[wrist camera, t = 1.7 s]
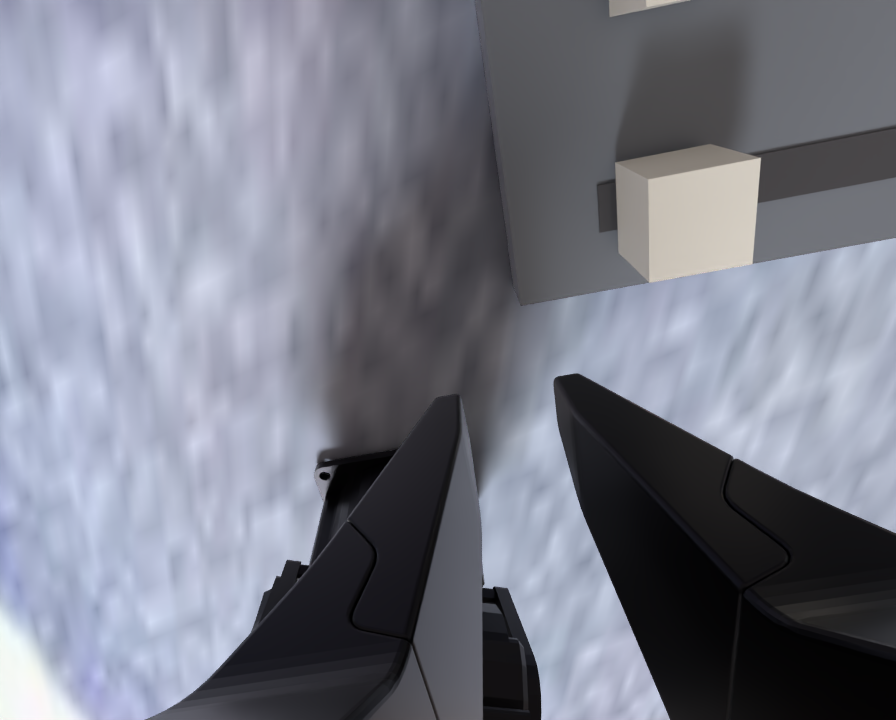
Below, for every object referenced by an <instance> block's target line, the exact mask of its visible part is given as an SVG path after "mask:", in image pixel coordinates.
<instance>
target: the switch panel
mask: <svg viewBox="0 0 896 720" xmlns="http://www.w3.org/2000/svg"><path fill="white" fill-rule="evenodd" d="M475 6H476V13H477V21H478V28H479V36H480V43H481V50H482V58H483V65H484V73H485V80H486V88H487V95H488V102H489V110H490V117H491V125H492V132H493V139H494V147H495V154H496V162H497V169H498V177H499V184H500V191H501V199H502V206H503V214H504V221H505V229H506V236H507V243H508V251H509V258H510V266H511V273H512V280H513V287H514V290H515V292H516V295H517V297H518V300H519V302H520V305H521V306H523V305H528V304H534V303H539V302H545V301H550V300H556V299H561V298H567V297H572V296H578V295H583V294H589V293H594V292H600V291H605V290H611V289H616V288H622V287H627V286H633V285H638V284H644V283H649V282H648V281H647V280H646V279H645V278H644V277H643V276H642V275H641V274H640V273H639V272H638V271H637V270H636V269H635V268H634V267H633V266H632V265H631V264H630V263H629V262H628V261H627V260H626V259H625V258H624V257H622V256H621V255H620V254H619V251H618V225H617V199H616V173H615V162H620V161H625V160H630V159H635V158H641V157H646V156H651V155H656V154H661V153H666V152H671V151H677V150H682V149H687V148H692V147H697V146H702V145H707V144H712V145H716V146H720V147H723V148H727V149H731V150H734V151H738V152H741V153H745V154H749V155H752V156H756V157H760V158H761V164H760V176H759V189H758V201H757V213H756V226H755V238H754V251H753V263H752V264H754V263H760V262H765V261H771V260H776V259H782V258H787V257H793V256H798V255H804V254H809V253H815V252H820V251H826V250H831V249H837V248H842V247H848V246H853V245H859V244H864V243H870V242H875V241H881V240H886V239H892V238H896V0H690V1H685V2H680V3H675V4H670V5H666V6H661V7H656V8H651V9H646V10H642V11H637V12H632V13H627V14H623V15H618V16H613V17H610V15H609V0H475Z"/></svg>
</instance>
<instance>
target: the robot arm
mask: <svg viewBox="0 0 896 720" xmlns="http://www.w3.org/2000/svg"><path fill="white" fill-rule="evenodd" d="M554 395H555V404H556V413H557V422H558V427H559V432H560V436H561V439H562V443H563V446H564V450H565V454H566V457H567V461H568V465H569V468H570V472H571V476H572V479H573V483H574V486H575V490H576V494H577V497H578V500H579V503H580V507H581V509H582V512H583V515H584V517H585V520H586V522H587V525H588V527H589V529H590V532H591V534H592V536H593V539H594V541H595V543H596V546H597V548H598V551H599V553H600V555H601V558H602V560H603V562H604V565H605V567H606V569H607V572H608V574H609V576H610V579H611V581H612V584H613V586H614V588H615V591H616V593H617V595H618V598H619V600H620V602H621V605H622V607H623V609H624V612H625V614H626V616H627V619H628V621H629V624H630V626H631V628H632V631H633V633H634V635H635V638H636V640H637V642H638V645H639V647H640V649H641V652H642V654H643V656H644V659H645V661H646V664H647V666H648V668H649V671H650V673H651V675H652V678H653V680H654V682H655V685H656V687H657V689H658V692H659V694H660V697H661V699H662V701H663V704H664V706H665V708H666V711H667V713H668V715H669V718H670V720H896V533H894V532H891V531H889V530H887V529H884V528H882V527H880V526H878V525H875V524H873V523H871V522H868V521H866V520H864V519H862V518H859V517H857V516H855V515H852V514H850V513H848V512H846V511H843V510H841V509H839V508H836V507H834V506H832V505H830V504H828V503H826V502H823V501H821V500H819V499H817V498H815V497H812V496H810V495H808V494H806V493H804V492H802V491H799V490H797V489H795V488H793V487H791V486H789V485H787V484H785V483H783V482H781V481H779V480H777V479H775V478H773V477H771V476H769V475H768V474H766V473H764V472H762V471H760V470H758V469H756V468H754V467H752V466H750V465H748V464H747V463H745V462H743V461H741V460H739V459H733V456H731V455H729V454H728V453H726V452H724V451H722V450H720V449H718V448H716V447H715V446H713V445H711V444H709V443H707V442H705V441H703V440H702V439H700V438H698V437H696V436H694V435H692V434H690V433H689V432H687V431H685V430H683V429H681V428H679V427H677V426H675V425H674V424H672V423H670V422H668V421H666V420H664V419H662V418H661V417H659V416H657V415H655V414H653V413H651V412H649V411H648V410H646V409H644V408H642V407H640V406H638V405H636V404H635V403H633V402H631V401H629V400H627V399H625V398H623V397H622V396H620V395H618V394H616V393H614V392H612V391H610V390H609V389H607V388H605V387H603V386H601V385H599V384H597V383H595V382H594V381H592V380H590V379H588V378H586V377H584V376H582V375H580V374H570V375H564V376H558V377H556V378H555V379H554ZM322 472H328V473H329V475H325V474H323V473H322ZM314 478H315V481H316V483H317V486H318V489H319V491H320V494H321V497H322V499H323V502H324V505H323V509H322V513H321V517H320V521H319V526H318V530H317V534H316V538H315V543H314V547H313V551H312V555H311V559H310V564H309V565H301V562H300V561H292V560H287V561H286V564H285V567H284V569H283V572H282V575H281V577H279V576H276V579H275V581H274V584H273V587H272V589H270V590H268V591H266V592H264V595H263V598H262V601H261V604H260V608H259V611H258V614H257V617H256V620H255V623H254V626H253V629H252V631H251V633H250V634H249V636H248V637H247V638H246V639H245V640H244V641H243V642H242V643H241V644H240V645H239V647H238V648H237V649H236V650H235V651H234V652H233V653H232V654H231V655H230V656H229V658H228V659H227V660H226V661H225V662H224V663H223V664H222V665H221V666H220V667H219V668H218V669H217V670H216V671H215V673H214V674H213V675H212V676H211V677H210V678H209V679H208V680H207V681H206V682H204V683H203V684H202V685H201V686H200V687H199V688H197V689H196V690H195V691H194V692H193V693H192V694H190V695H189V696H187V697H186V698H185V699H183V700H182V701H180V702H179V703H177V704H175V705H174V706H172V707H170V708H169V709H167V710H165V711H163V712H161V713H159V714H157V715H155V716H153V717H150V718H148V719H146V720H541V691H540V680H539V674H538V669H537V664H536V661H535V658H534V655H533V652H532V649H531V647H530V644H529V642H528V639H527V637H526V634H525V631H524V629H523V626H522V624H521V621H520V619H519V616H518V614H517V611H516V608H515V606H514V603H513V601H512V598H511V596H510V593H509V590H508V589H507V588H502V587H493V589H489V588H482V587H483V585H484V575H483V566H482V529H481V516H480V507H479V500H478V493H477V486H476V479H475V472H474V465H473V458H472V451H471V444H470V438H469V433H468V428H467V423H466V418H465V413H464V408H463V403H462V399H461V396H460V395H458V394H454V395H448V396H442V397H438V398H436V399H435V400H434V401H433V403H432V404H431V405H430V407H429V408H428V409H427V411H426V412H425V413H424V415H423V416H422V418H421V419H420V420H419V422H418V423H417V424H416V426H415V427H414V428H413V430H412V431H411V433H410V434H409V435H408V437H407V438H406V439H405V441H404V442H403V443H402V445H401V446H400V447H399V449H398V450H392V451H386V452H380V453H374V454H368V455H362V456H357V457H351V458H345V459H339V460H333V461H327V462H322V463H319V464H318V465H317V466H316V469H315V473H314Z"/></svg>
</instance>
